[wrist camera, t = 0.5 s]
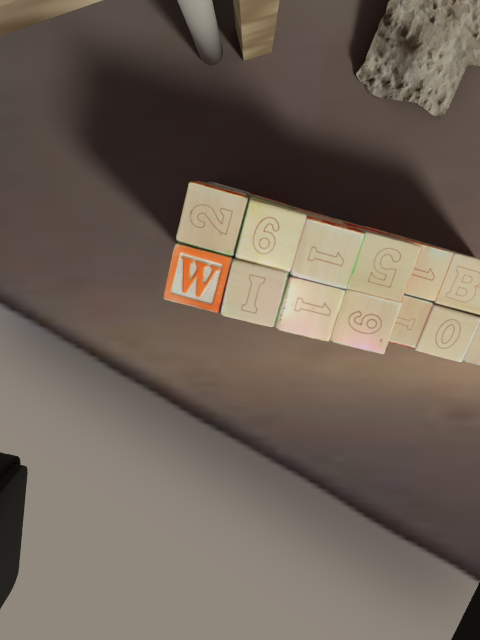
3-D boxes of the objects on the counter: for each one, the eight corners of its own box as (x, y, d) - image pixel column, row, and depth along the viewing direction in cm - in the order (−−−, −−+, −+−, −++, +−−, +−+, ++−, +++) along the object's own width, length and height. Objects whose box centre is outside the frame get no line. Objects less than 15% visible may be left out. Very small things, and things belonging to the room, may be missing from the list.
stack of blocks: (478, 255, 35) (595, 293, 23) (446, 330, 36) (539, 400, 25) (209, 180, 33) (186, 178, 22) (190, 261, 35) (159, 300, 23)
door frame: (278, 15, 30) (310, -184, 14) (286, 47, 31) (324, -107, 14) (-92, 135, 33) (-428, 87, 17) (-80, 163, 33) (-393, 143, 17)
